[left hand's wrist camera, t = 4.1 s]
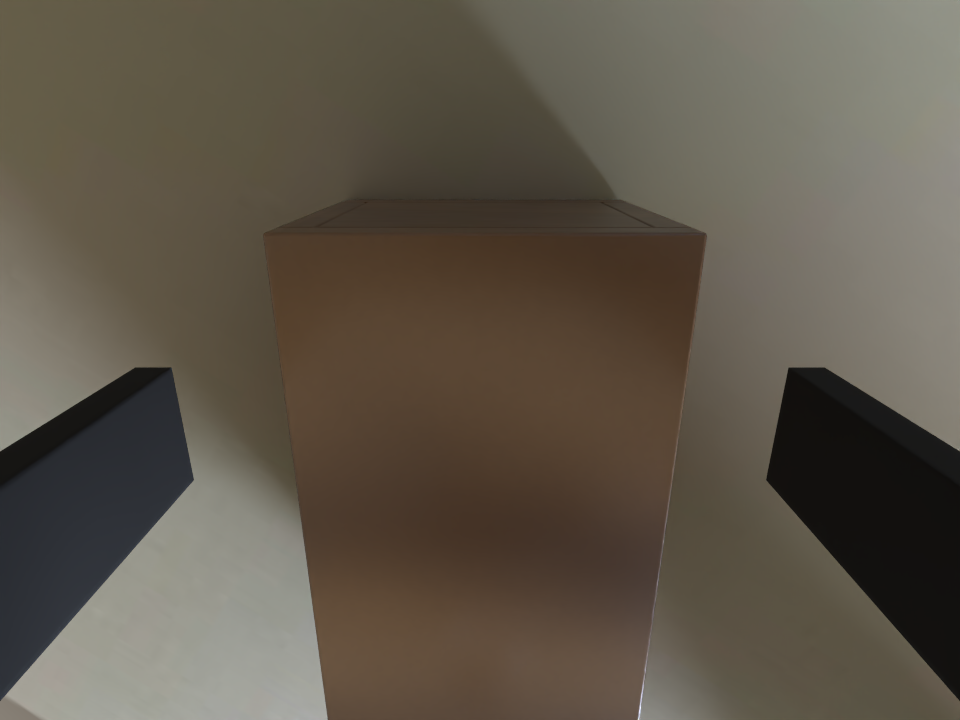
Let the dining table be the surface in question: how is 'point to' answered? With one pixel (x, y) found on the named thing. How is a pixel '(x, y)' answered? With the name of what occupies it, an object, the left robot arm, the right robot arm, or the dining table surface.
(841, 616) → the dining table surface
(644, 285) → the cabinet
